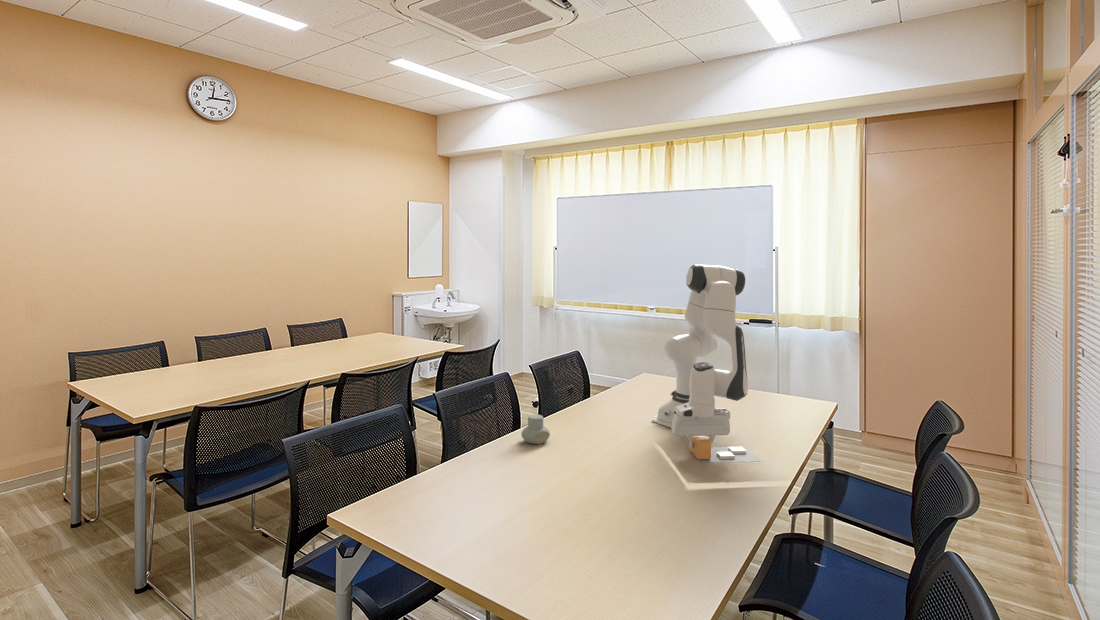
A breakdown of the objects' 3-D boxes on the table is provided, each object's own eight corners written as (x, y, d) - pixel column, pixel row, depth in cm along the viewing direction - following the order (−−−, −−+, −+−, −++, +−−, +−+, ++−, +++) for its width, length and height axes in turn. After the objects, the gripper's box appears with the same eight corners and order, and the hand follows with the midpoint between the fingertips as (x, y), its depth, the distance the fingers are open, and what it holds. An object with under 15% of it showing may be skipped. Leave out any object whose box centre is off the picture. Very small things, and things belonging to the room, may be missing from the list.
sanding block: (710, 458, 189) (711, 442, 189) (698, 459, 189) (698, 442, 188) (701, 449, 198) (702, 433, 198) (689, 449, 198) (690, 433, 197)
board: (699, 466, 187) (699, 462, 187) (686, 451, 201) (686, 447, 201) (761, 465, 188) (762, 461, 188) (744, 450, 202) (744, 446, 202)
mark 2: (732, 453, 195) (732, 451, 195) (728, 449, 199) (728, 447, 199) (746, 453, 195) (746, 450, 195) (741, 449, 199) (741, 446, 199)
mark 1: (720, 458, 190) (720, 456, 190) (716, 454, 194) (716, 451, 194) (734, 458, 190) (734, 455, 190) (730, 454, 194) (730, 451, 194)
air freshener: (530, 447, 204) (530, 421, 203) (518, 441, 211) (517, 416, 210) (553, 441, 211) (553, 416, 209) (541, 435, 217) (541, 411, 216)
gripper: (726, 406, 196) (725, 443, 197) (670, 406, 194) (669, 444, 196) (733, 411, 189) (732, 449, 191) (676, 412, 188) (674, 450, 190)
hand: (700, 446), depth 193 cm, fingers closed on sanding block, 4 cm apart
